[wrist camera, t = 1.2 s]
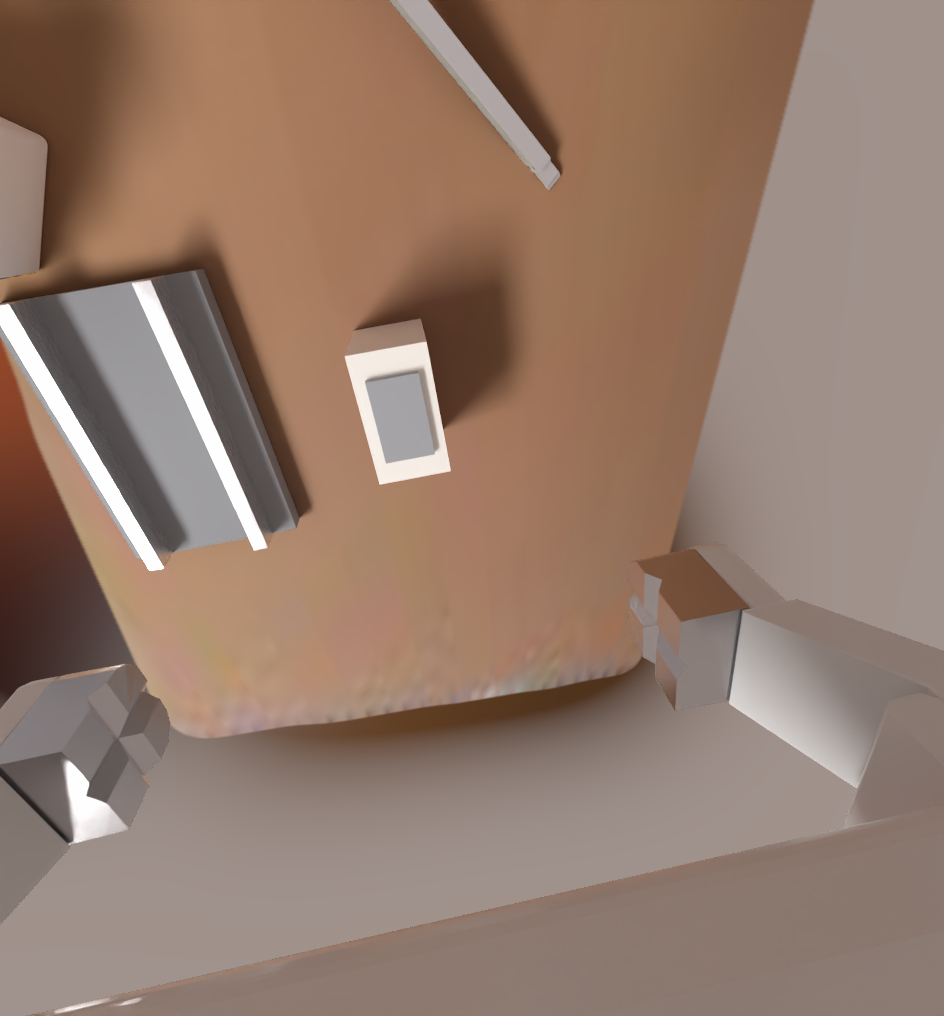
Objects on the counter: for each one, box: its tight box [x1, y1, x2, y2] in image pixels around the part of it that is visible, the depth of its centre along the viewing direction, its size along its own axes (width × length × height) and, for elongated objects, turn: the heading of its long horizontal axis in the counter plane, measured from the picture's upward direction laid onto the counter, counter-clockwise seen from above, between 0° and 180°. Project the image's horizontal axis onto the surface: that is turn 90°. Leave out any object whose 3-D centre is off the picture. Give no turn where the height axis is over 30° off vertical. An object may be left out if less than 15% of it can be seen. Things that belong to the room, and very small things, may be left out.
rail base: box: [0, 268, 299, 559], centre depth 34 cm, size 18×12×2 cm, turn 8°
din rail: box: [0, 276, 273, 571], centre depth 33 cm, size 18×8×2 cm, turn 8°
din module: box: [345, 319, 451, 484], centre depth 32 cm, size 8×4×7 cm, turn 8°
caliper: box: [389, 0, 560, 190], centre depth 24 cm, size 20×1×6 cm, turn 50°
